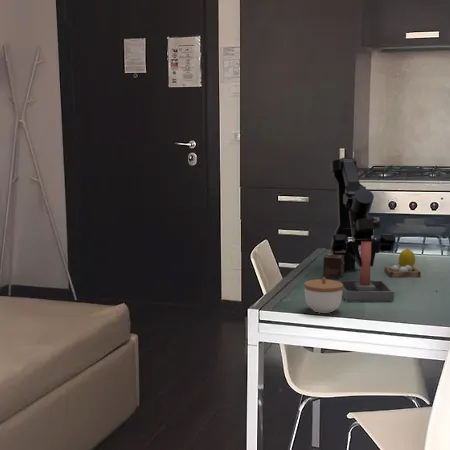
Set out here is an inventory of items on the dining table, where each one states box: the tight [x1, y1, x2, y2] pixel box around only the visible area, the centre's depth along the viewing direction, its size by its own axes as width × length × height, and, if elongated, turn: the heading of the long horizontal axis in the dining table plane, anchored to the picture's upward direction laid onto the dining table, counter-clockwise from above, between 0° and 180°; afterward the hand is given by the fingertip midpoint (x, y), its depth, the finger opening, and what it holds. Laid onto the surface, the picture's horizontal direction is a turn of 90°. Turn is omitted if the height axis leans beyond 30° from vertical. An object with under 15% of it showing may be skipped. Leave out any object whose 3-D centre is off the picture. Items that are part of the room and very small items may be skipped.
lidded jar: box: [303, 277, 343, 313], centre depth 198 cm, size 11×11×9 cm
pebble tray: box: [383, 266, 422, 278], centre depth 239 cm, size 10×8×2 cm
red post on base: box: [354, 241, 376, 291], centre depth 213 cm, size 6×5×14 cm
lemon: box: [398, 248, 416, 267], centre depth 248 cm, size 6×6×8 cm
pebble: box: [405, 265, 413, 272], centre depth 240 cm, size 3×3×3 cm
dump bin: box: [338, 280, 395, 302], centre depth 214 cm, size 14×14×3 cm
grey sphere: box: [390, 264, 400, 272], centre depth 240 cm, size 3×3×3 cm
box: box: [322, 253, 345, 281], centre depth 239 cm, size 6×6×7 cm
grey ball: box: [399, 266, 408, 272], centre depth 238 cm, size 3×3×3 cm
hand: (366, 266), depth 212 cm, fingers open, 3 cm apart
